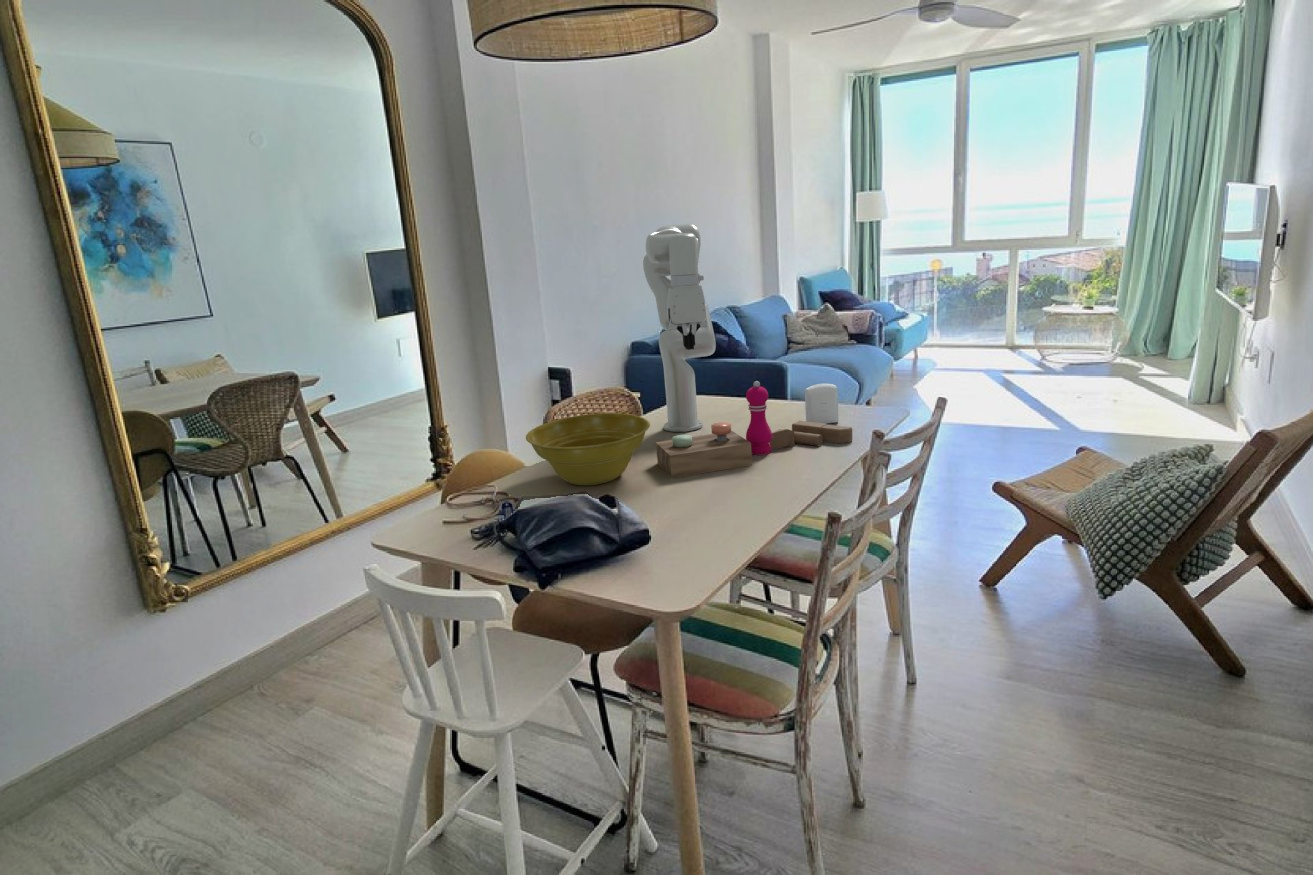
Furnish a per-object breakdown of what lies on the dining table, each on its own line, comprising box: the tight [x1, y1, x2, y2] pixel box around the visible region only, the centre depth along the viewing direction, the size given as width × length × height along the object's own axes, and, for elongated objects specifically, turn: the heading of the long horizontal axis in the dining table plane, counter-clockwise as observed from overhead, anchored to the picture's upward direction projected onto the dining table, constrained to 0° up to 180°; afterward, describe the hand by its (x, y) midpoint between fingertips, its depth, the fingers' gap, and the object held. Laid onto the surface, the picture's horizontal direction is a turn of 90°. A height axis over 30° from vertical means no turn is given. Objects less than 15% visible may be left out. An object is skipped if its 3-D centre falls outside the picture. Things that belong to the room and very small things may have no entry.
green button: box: [671, 434, 693, 448], centre depth 199 cm, size 5×5×8 cm
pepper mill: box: [745, 380, 773, 456], centre depth 206 cm, size 7×7×20 cm
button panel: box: [655, 430, 753, 479], centre depth 201 cm, size 14×22×6 cm, turn 105°
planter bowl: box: [525, 412, 651, 486], centre depth 197 cm, size 32×32×13 cm
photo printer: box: [804, 383, 839, 425], centre depth 230 cm, size 10×4×12 cm, turn 99°
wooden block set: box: [769, 420, 853, 450], centre depth 210 cm, size 17×6×18 cm
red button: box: [711, 421, 732, 442], centre depth 201 cm, size 5×5×8 cm
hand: (689, 348), depth 207 cm, fingers closed
